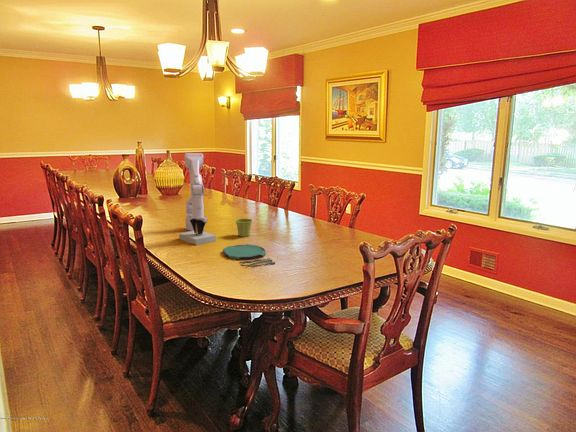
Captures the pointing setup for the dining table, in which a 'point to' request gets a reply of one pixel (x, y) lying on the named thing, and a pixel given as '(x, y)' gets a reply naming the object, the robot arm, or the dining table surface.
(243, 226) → the plant pot
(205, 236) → the hole board
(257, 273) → the dining table surface
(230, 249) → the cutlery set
